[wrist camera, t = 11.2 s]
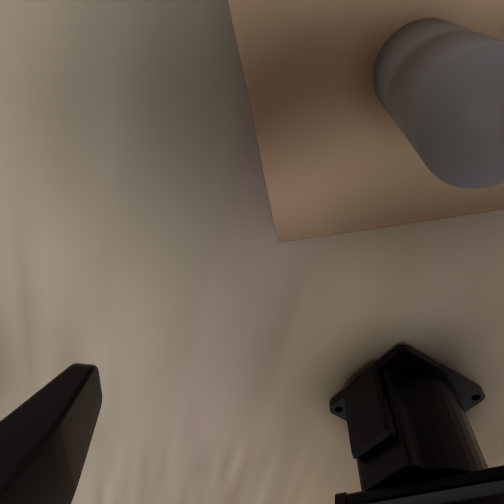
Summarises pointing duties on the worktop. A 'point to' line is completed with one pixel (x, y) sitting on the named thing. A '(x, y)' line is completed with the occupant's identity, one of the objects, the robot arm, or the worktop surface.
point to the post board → (374, 109)
